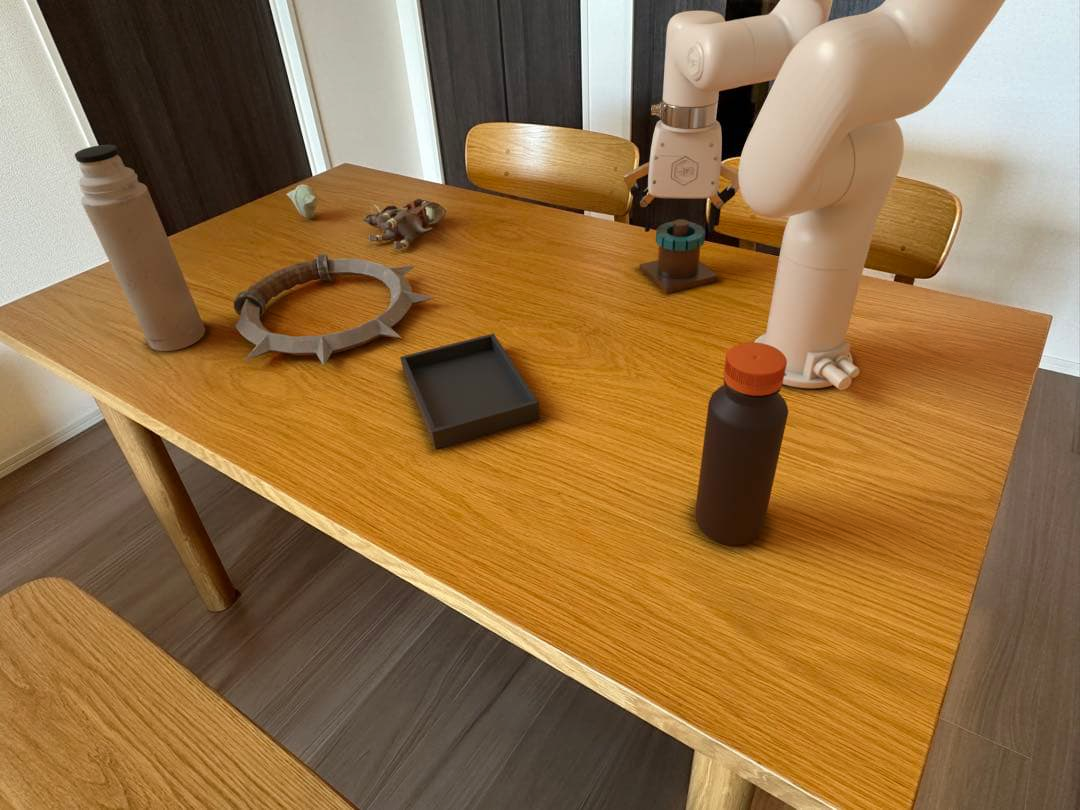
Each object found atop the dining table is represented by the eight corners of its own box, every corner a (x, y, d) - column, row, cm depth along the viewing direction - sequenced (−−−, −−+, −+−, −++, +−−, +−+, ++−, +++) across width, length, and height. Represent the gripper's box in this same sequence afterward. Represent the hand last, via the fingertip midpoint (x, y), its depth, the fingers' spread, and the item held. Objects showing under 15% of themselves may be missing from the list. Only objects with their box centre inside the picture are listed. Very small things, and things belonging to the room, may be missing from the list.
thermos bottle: (138, 343, 104) (46, 155, 87) (183, 318, 109) (105, 136, 92) (171, 356, 100) (82, 163, 83) (216, 330, 106) (141, 143, 88)
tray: (539, 419, 85) (538, 402, 83) (435, 449, 81) (431, 432, 80) (495, 348, 97) (493, 333, 96) (403, 372, 94) (400, 356, 92)
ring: (713, 244, 106) (714, 235, 105) (671, 255, 104) (671, 245, 103) (688, 227, 112) (689, 217, 111) (647, 236, 110) (647, 226, 109)
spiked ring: (183, 336, 104) (311, 411, 90) (173, 310, 101) (302, 383, 87) (353, 252, 124) (479, 301, 110) (348, 228, 122) (477, 276, 107)
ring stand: (717, 281, 109) (723, 227, 104) (666, 293, 107) (670, 239, 101) (687, 258, 116) (691, 206, 110) (639, 269, 114) (641, 217, 108)
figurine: (334, 211, 127) (396, 181, 138) (343, 242, 130) (402, 211, 141) (417, 223, 117) (476, 190, 128) (424, 257, 120) (481, 222, 132)
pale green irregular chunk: (289, 217, 139) (280, 184, 135) (306, 210, 142) (297, 178, 138) (314, 226, 135) (305, 192, 131) (331, 218, 138) (322, 185, 133)
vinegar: (762, 553, 67) (799, 386, 54) (691, 540, 68) (711, 376, 56) (764, 502, 72) (798, 340, 59) (697, 492, 73) (717, 332, 61)
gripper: (624, 122, 95) (621, 238, 105) (755, 122, 92) (738, 241, 103) (627, 105, 100) (624, 217, 111) (750, 105, 98) (734, 219, 109)
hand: (678, 228), depth 107 cm, fingers open, 9 cm apart
